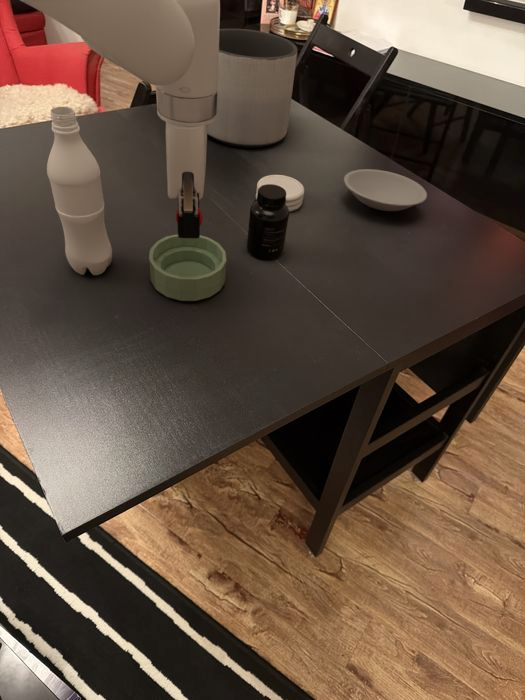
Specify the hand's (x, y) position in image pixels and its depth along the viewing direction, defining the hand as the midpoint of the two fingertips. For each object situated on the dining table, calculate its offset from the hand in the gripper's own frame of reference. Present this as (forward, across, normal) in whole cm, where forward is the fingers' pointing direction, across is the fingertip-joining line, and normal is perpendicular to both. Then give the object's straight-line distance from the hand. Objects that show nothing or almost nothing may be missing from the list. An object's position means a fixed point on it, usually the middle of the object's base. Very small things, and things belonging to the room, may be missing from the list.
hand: (188, 227), depth 73 cm
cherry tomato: (0, 0, 0) cm, 0 cm away
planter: (+11, -61, +14) cm, 63 cm away
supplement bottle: (+10, -9, +14) cm, 19 cm away
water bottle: (+10, -3, -16) cm, 19 cm away
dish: (+11, -26, +41) cm, 49 cm away
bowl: (+10, 0, 0) cm, 10 cm away
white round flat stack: (+10, -27, +19) cm, 34 cm away
